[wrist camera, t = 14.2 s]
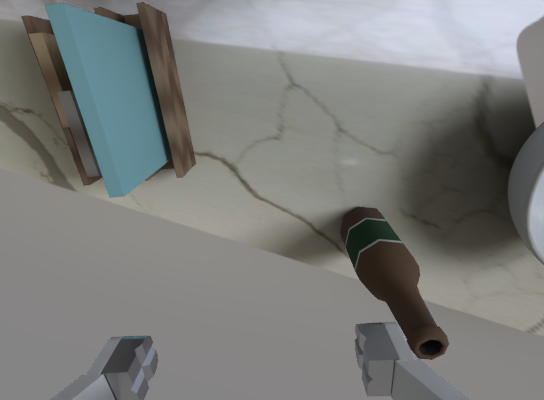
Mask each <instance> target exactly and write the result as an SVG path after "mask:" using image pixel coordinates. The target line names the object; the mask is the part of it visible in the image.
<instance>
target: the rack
mask: <svg viewBox="0 0 544 400" xmlns="http://www.w3.org/2000/svg"><path fill="white" fill-rule="evenodd" d="M137 8H138V12H139V14H135V15H126V16H123V15H120V14H117V13H115V12H112V11H109V10H107V9H104V8H102V7H98V8H94V11H95V14H97V15H100V16H103V17H106V18H109V19H112V20H115V21H118V22H121V23H124V24H127V25H130V26H133V27H136V28H139V29H142V30H143V34H144V38H145V42H146V46H147V51H148V55H149V59H150V64H151V68H152V72H153V77H154V81H155V85H156V90H157V94H158V98H159V103H160V107H161V111H162V116H163V120H164V124H165V128H166V133H167V137H168V141H169V146H170V150H171V154H172V159H171V160H170V161H168V162H167V163H166V164H165V165H163V166H162V167H161V168H159V169H158V170H157V171H156V172H154V173H153V174H152V175H151V176H149V177H148V178H147V179H146V180H149V179H150V178H152V177H153V176H154V175H155V174H156V173H158V172H159V171H160V170H161V169H171V168H175V172H176V176H177V178H182V177H184V176H185V174H186V173H187V172H188V171H189V170H190V169H191V168H192V167H193V166H194V165H195V164H196V162H195V157H194V152H193V147H192V142H191V137H190V132H189V127H188V122H187V117H186V112H185V107H184V102H183V97H182V92H181V87H180V82H179V77H178V72H177V67H176V62H175V57H174V52H173V47H172V42H171V37H170V32H169V27H168V22H167V17H166V14H165V13H163V12H162V11H159V10H157V9H155V8H153V7H151V6H150V5H148V4H146V3H144V2H142V3H137ZM21 17H22V20H23V22H24V25H25V28H26V30H27V33H28V36H29V34H33V33H47V34H53V35H55V34H54V32H53V29H52V26H51V23H50V21H49V20H45V19H41V18H37V17H33V16H21ZM29 38H30V37H29ZM30 41H31V39H30ZM31 44H32V42H31ZM32 47H33V45H32ZM33 49H34V47H33ZM34 52H35V50H34ZM35 55H36V53H35ZM36 57H37V56H36ZM37 60H38V58H37ZM38 63H39V61H38ZM39 66H40V64H39ZM40 68H41V66H40ZM41 71H42V69H41ZM42 74H43V72H42ZM43 76H44V75H43ZM44 79H45V77H44ZM45 82H46V80H45ZM46 84H47V83H46ZM47 87H48V85H47ZM48 90H49V88H48ZM49 93H50V91H49ZM50 95H51V94H50ZM51 98H52V96H51ZM52 101H53V99H52ZM53 103H54V102H53ZM54 106H55V104H54ZM55 109H56V107H55ZM56 112H57V110H56ZM57 114H58V113H57ZM58 117H59V115H58ZM59 120H60V118H59ZM60 122H61V121H60ZM61 125H62V123H61ZM62 128H63V126H62ZM63 130H64V133H65V136H66V139H67V141H68V144H69V147H70V149H71V152H72V155H73V158H74V160H75V163H76V166H77V168H78V171H79V174H80V176H81V179H82V182H83V185H90V184H92V183H94V182H95V181H97V180H99V179H101V178H102V175H100V176H93V177H87V174H86V172H85V169H84V166H83V163H82V161H81V158H80V155H79V152H78V149H77V147H76V144H75V141H74V138H73V136H72V133H71V130H70V127H64V128H63ZM144 181H145V180H144Z"/></svg>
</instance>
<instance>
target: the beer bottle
mask: <svg viewBox="0 0 544 400" xmlns="http://www.w3.org/2000/svg"><path fill="white" fill-rule="evenodd" d="M341 236H342V239H343V241H344V244H345V247H346V249H347V252H348V254H349V257H350V259H351V262H352V264H353V267H354V269H355V272H356V274H357V276H358V277H359V279H360V281H361V282H362V283H363V284H364V285H365V286H366V288H367V289H368V290H369V291H370V292H371V293H372V294H373V295H374V296H375V297H376V298H377V299H379V300H382V301H385V302H386V303H387V304H388V306H389V308H390V310H391V312H392V313H393V315H394V317H395V319H396V320H397V322H398V324H399V326H400V327H401V329H402V331H403V333H404V334H405V336H406V338H407V343H408V345H409V347H410V349H411V350H412V351H413V353H414V354H415V355H416V356H417V357H418V358H420V359H431V360H432V359H434V358H436V357H438V356H440V355H442V354H444V353H445V351H446V349H447V347H448V345H449V342H448V339H447V336H446V334H445V333H444V332H443V331H442V329H441V328H440V327H437V325H436V323H435V321H434V319H433V318H432V316H431V314H430V312H429V310H428V308H427V307H426V305H425V303H424V301H423V299H422V297H421V296H420V293H419V290H418V287H417V284H418V280H419V277H420V272H419V266H418V264H417V263H416V261H415V259H414V258H413V256H412V255H411V253H410V252H409V251H408V249H407V248H406V247H405V245H404V244H403V243H402V241H401V240H400V239H399V237H398V236H397V235H396V233H395V232H394V231H393V229H392V228H391V226H390V225H389V224H388V222H387V221H386V220H385V218H384V217H383V216H382V214H381V213H380V212H379V211H378V210H377V209H375V208H365V207H358V208H356V209H355V210H353V211H352V212H350V213H349V214H347V215H346V216H344V219H343V223H342V228H341Z"/></svg>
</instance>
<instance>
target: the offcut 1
mask: <svg viewBox="0 0 544 400" xmlns="http://www.w3.org/2000/svg"><path fill="white" fill-rule="evenodd" d="M29 37H30V39H31V42H32V45H33V47H34V50H35V53H36V56H37V58H38V61H39V64H40V66H41V69H42V72H43V75H44V77H45V80H46V83H47V85H48V88H49V91H50V94H51V96H52V99H53V102H54V104H55V107H56V110H57V113H58V115H59V118H60V121H61V123H62V126H63V128H64V127H69V124H68V122H67V119H66V116H65V113H64V111H63V108H62V105H61V102H60V99H59V97H58V94H57V92H61V91H72V90H73V88H72V85H71V82H70V79H69V76H68V73H67V70H66V67H65V64H64V61H63V58H62V55H61V52H60V49H59V46H58V43H57V40H56V37H55V35H53V34H47V33H33V34H29Z"/></svg>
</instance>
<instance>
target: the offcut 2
mask: <svg viewBox="0 0 544 400" xmlns="http://www.w3.org/2000/svg"><path fill="white" fill-rule="evenodd" d="M57 94H58V97H59V99H60V102H61V105H62V108H63V111H64V113H65V116H66V119H67V122H68V124H69V127H70V130H71V133H72V136H73V138H74V141H75V144H76V147H77V149H78V152H79V155H80V158H81V161H82V163H83V166H84V169H85V172H86V174H87V177H93V176H100V175H102V174H101V171H100V168H99V165H98V162H97V159H96V156H95V153H94V150H93V147H92V144H91V141H90V138H89V135H88V132H87V129H86V126H85V123H84V120H83V117H82V114H81V111H80V108H79V106H78V103H77V100H76V97H75V94H74V91H73V90H72V91H61V92H57Z"/></svg>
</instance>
